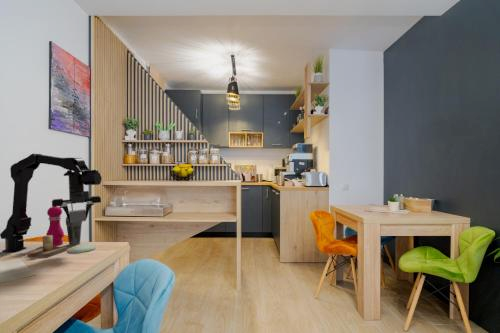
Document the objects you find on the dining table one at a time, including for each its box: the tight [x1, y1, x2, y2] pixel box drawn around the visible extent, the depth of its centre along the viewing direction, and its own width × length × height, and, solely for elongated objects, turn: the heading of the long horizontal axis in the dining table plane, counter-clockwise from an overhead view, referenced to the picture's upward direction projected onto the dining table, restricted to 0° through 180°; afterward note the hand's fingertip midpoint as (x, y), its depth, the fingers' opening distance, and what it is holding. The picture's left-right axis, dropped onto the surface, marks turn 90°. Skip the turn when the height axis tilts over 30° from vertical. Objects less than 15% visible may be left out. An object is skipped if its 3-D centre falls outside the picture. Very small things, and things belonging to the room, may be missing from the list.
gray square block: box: [69, 208, 87, 223], centre depth 132 cm, size 6×6×4 cm
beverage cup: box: [65, 203, 83, 246], centre depth 143 cm, size 7×7×20 cm
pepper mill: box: [45, 206, 65, 247], centre depth 143 cm, size 7×7×20 cm
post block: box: [27, 235, 68, 258], centre depth 128 cm, size 10×10×8 cm
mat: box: [67, 244, 97, 254], centre depth 133 cm, size 11×11×1 cm
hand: (77, 220), depth 132 cm, fingers closed on gray square block, 6 cm apart
